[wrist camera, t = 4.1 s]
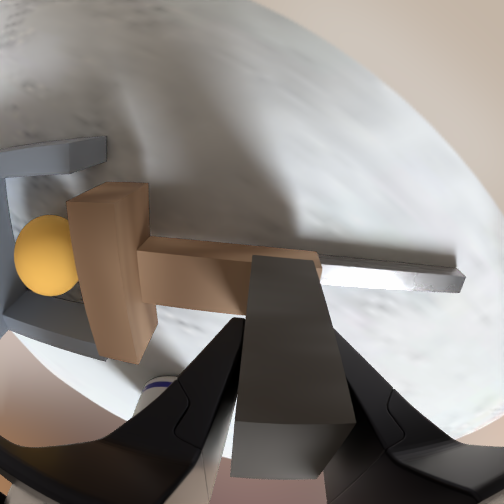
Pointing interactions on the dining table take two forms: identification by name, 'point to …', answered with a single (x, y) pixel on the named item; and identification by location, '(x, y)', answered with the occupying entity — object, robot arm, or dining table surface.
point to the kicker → (222, 301)
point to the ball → (46, 256)
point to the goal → (3, 266)
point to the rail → (389, 275)
